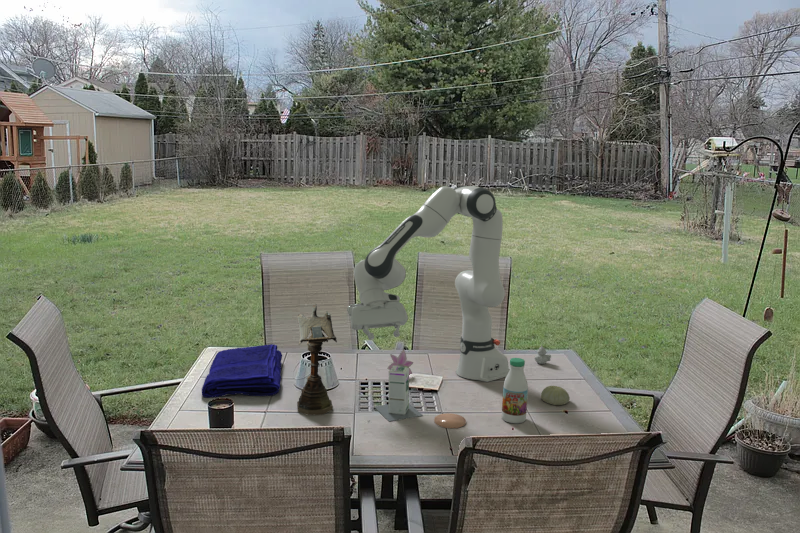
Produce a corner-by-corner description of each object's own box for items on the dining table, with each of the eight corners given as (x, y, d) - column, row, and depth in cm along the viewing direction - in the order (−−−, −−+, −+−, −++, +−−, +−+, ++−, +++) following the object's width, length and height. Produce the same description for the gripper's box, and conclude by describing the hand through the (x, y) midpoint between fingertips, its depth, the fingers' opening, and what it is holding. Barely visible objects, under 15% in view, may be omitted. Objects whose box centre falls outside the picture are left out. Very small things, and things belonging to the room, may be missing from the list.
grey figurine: (532, 361, 261) (534, 342, 260) (549, 361, 261) (550, 342, 260) (535, 365, 256) (537, 346, 254) (552, 366, 256) (553, 346, 254)
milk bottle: (498, 414, 209) (502, 355, 205) (522, 413, 210) (526, 355, 206) (504, 424, 201) (508, 363, 198) (528, 424, 202) (532, 363, 198)
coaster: (455, 412, 209) (455, 411, 209) (471, 425, 200) (471, 423, 200) (428, 417, 205) (428, 416, 205) (443, 430, 196) (443, 429, 196)
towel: (200, 400, 215) (199, 375, 213) (214, 364, 249) (214, 342, 247) (280, 397, 218) (279, 373, 217) (283, 362, 253) (283, 340, 251)
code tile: (406, 401, 217) (406, 401, 217) (423, 415, 206) (423, 415, 206) (374, 407, 212) (374, 406, 212) (388, 421, 201) (388, 420, 201)
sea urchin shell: (555, 404, 213) (545, 381, 217) (543, 413, 220) (533, 391, 224) (577, 399, 218) (566, 377, 222) (564, 409, 224) (554, 387, 228)
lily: (382, 382, 237) (390, 365, 232) (381, 362, 246) (390, 345, 241) (409, 389, 239) (418, 373, 235) (408, 369, 248) (416, 353, 244)
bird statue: (341, 420, 201) (342, 312, 194) (299, 423, 198) (299, 313, 192) (335, 399, 217) (336, 299, 210) (296, 401, 214) (295, 300, 208)
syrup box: (405, 415, 206) (406, 372, 203) (387, 413, 207) (388, 370, 204) (408, 408, 211) (410, 366, 208) (391, 406, 212) (392, 364, 209)
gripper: (348, 299, 216) (358, 336, 209) (403, 295, 224) (414, 330, 217) (343, 309, 220) (353, 345, 214) (397, 304, 229) (408, 338, 222)
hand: (384, 337), depth 216 cm, fingers open, 8 cm apart
